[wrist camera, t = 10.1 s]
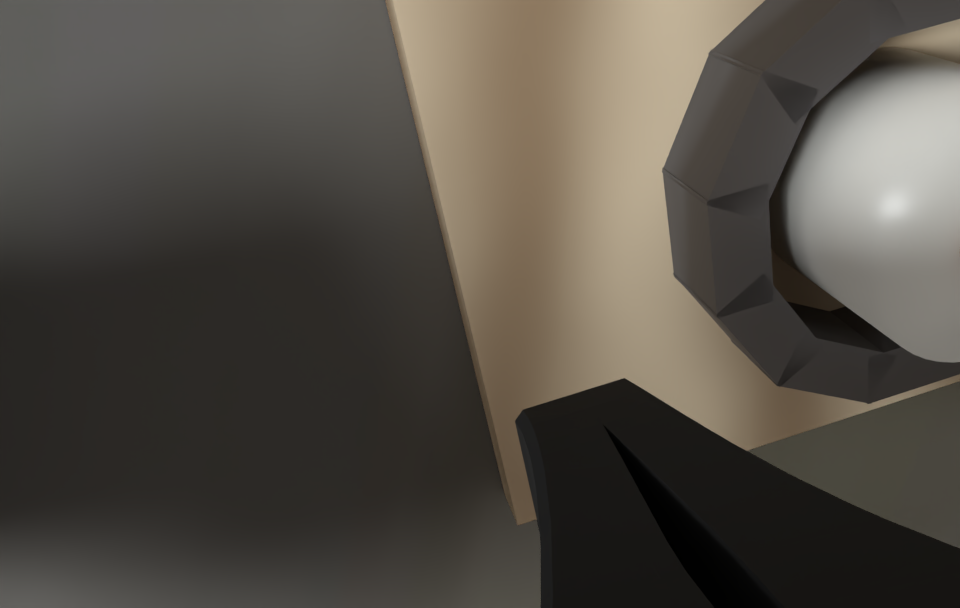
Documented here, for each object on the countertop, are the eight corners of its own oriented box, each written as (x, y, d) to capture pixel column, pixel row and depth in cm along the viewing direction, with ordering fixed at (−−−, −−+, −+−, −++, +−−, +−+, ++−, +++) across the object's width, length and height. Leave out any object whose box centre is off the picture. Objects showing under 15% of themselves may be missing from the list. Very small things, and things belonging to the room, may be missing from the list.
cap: (753, 298, 20) (884, 408, 16) (754, 73, 18) (907, 137, 14) (953, 247, 21) (1124, 340, 17) (979, 26, 19) (1185, 73, 15)
